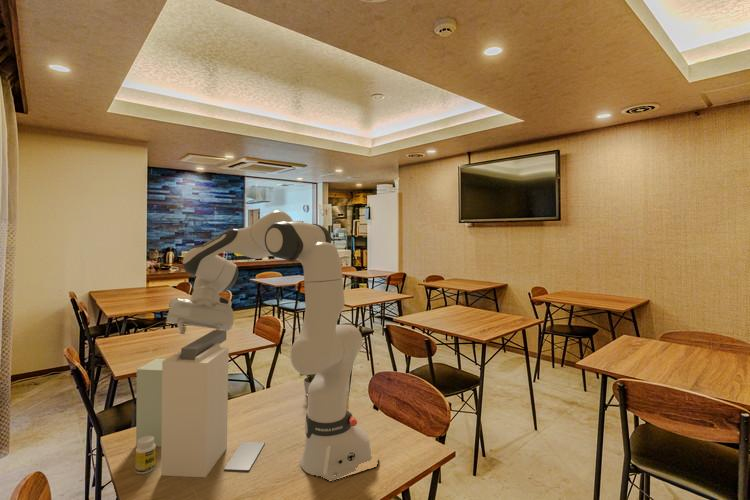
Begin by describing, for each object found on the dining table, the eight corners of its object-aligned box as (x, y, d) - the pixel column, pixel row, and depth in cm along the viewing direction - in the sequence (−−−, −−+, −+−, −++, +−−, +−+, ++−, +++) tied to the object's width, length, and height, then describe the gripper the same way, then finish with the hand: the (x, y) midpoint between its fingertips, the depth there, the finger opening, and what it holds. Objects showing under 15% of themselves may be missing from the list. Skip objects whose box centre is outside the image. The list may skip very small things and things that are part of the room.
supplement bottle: (146, 475, 102) (146, 445, 101) (130, 473, 103) (131, 442, 102) (159, 465, 107) (159, 435, 106) (145, 462, 107) (145, 433, 107)
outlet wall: (188, 445, 117) (190, 341, 115) (227, 447, 116) (229, 343, 115) (161, 475, 102) (162, 356, 101) (205, 477, 102) (207, 358, 101)
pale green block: (155, 428, 126) (156, 358, 125) (179, 429, 126) (180, 359, 125) (136, 445, 116) (136, 369, 115) (162, 446, 116) (162, 370, 115)
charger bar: (214, 339, 123) (214, 330, 123) (226, 339, 123) (226, 330, 123) (181, 359, 103) (181, 348, 103) (195, 360, 103) (196, 349, 103)
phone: (242, 444, 119) (242, 441, 119) (264, 445, 119) (264, 442, 119) (223, 472, 105) (223, 469, 105) (248, 473, 105) (248, 470, 105)
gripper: (172, 291, 126) (163, 323, 115) (236, 302, 135) (233, 333, 124) (169, 304, 129) (160, 336, 118) (231, 314, 138) (228, 345, 127)
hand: (198, 335), depth 121 cm, fingers open, 8 cm apart
